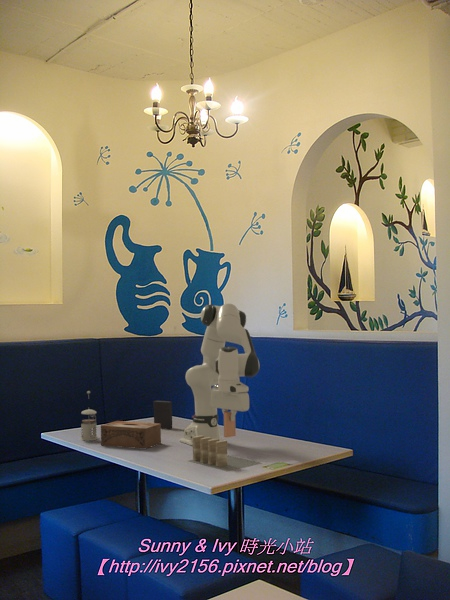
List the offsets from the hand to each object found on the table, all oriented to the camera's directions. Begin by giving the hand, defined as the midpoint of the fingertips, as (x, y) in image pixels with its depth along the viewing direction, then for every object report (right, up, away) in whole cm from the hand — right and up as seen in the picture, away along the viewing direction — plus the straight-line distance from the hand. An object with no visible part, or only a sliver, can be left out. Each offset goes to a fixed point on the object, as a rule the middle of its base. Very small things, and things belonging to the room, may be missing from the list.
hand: (229, 420), depth 261 cm
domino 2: (-10, -20, +11) cm, 24 cm away
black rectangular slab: (-37, -24, +101) cm, 110 cm away
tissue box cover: (-49, -23, +55) cm, 77 cm away
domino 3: (-7, -20, +7) cm, 22 cm away
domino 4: (-3, -19, +3) cm, 20 cm away
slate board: (-2, -21, +10) cm, 23 cm away
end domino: (0, -7, 0) cm, 7 cm away
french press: (-73, -23, +71) cm, 104 cm away
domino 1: (-13, -20, +14) cm, 28 cm away
